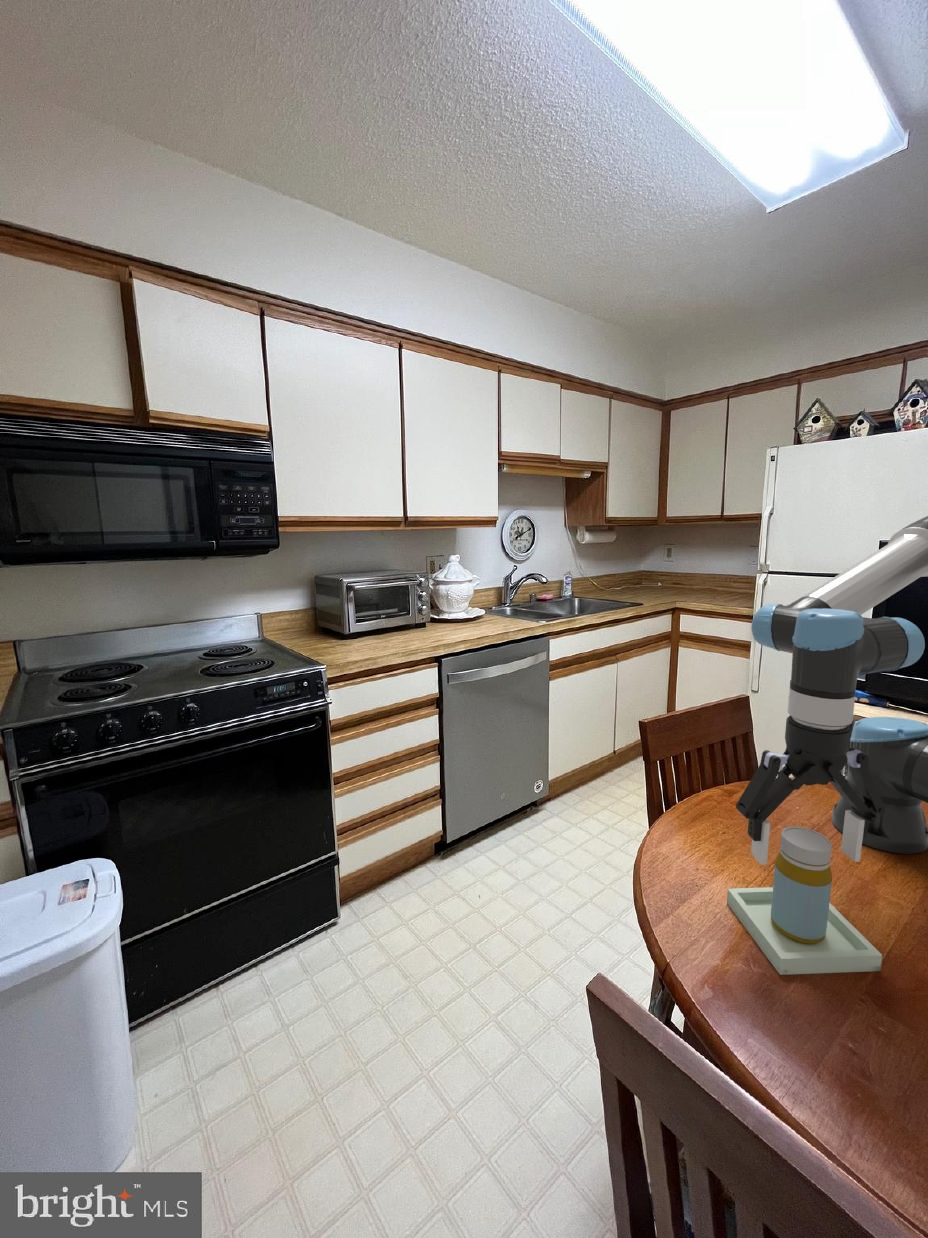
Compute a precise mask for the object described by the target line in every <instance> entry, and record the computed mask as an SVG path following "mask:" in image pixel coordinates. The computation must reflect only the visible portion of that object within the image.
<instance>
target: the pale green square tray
mask: <svg viewBox="0 0 928 1238" xmlns="http://www.w3.org/2000/svg"><path fill="white" fill-rule="evenodd" d="M772 893H773V886H771V887H769V886H768V887H767V886H766V887H741V888H740V887H739V888H727V894H726V904H727V905H728V906H729V908H730V909H731V910H732V911H733V913H734V914H735V916H736V917H737V919H738V920H739V921H740V922H741V924H742V925H743V927H744V928H745V929H746V931H747V932H748V933H749V934H750V936H751V937H752V939H753V940H754V941H755V943H756V944H757V946H758V947H759V948H760V950H761V951H762V952H763V954H764V955H765V957H766V958H767V959H768V961H769V962H770V963H771V965H772V966H773V968H774V969H775V970H776V971H777V972H778V974H779V975H780V976H781V975H782V976H784V975H787V976H789V975H809V974H810V975H812V974H834V973H837V974H838V973H862V972H863V973H865V972H880V971H881V968H882V962H883V961H882V960H883V954H882V953H881V952H880V951H879V950H878V949H877V948H876V947H875V946H874V945H872V943H871V942H870V941H869V940H868V939H867V938H866V937H865V936H864V935H863V934H862V933H860V931H859V930H857V928H855V926H854V925H853V924H851V922H850V921H849V920H848V919H847V918H845V916H843V915H842V914H841V913H840V912H839V910H837V909H836V908H835V906H833V904H832V903H829V912H828V921H827V930H826V936H825V938H824V940H823V941H821V942H819V943H816V944H802V943H799V942H795V941H793V940H791V939H789V938H787V937H786V936H784V935H783V934H782V933H780V932H779V930H778V929H777V928H776V927H775V926H774V924H773V923H772V921H771V905H772Z"/></svg>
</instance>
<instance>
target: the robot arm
mask: <svg viewBox="0 0 928 1238" xmlns="http://www.w3.org/2000/svg"><path fill="white" fill-rule="evenodd" d="M922 577H924V578H925V577H928V515H927V516H924V517H922V518H920V519H918V520H916V521H914V522H911V523H910V524H908V525H907V526H905V527H903V528H901V529H900V530H897V532H895V533H894V534H893V535H891V537H890V539H889V540H888V543H887V544H886V545H884V546H883V547H882V548H880V549H878V550H876V551H875V552H873V553H871V554H870V555H868V556H867V557H865V558H863V559H862V560H860V561H858V562H856V563H855V564H853V565H852V566H850V567H849V568H847V569H846V570H843V571H842V572H840V573H839V574H837V575H836V576H834V577H832V578H831V579H829V580H827V581H826V582H824V583H822V584H821V585H819V586H818V587H815V588H814V589H813V590H810V591H809V592H808V593H806V594H804V595H802V596H801V597H799V598H798V599H796V600H795V601H793V602H791V603H789V604H788V605H783V604H780V603H778V604H772V603H771V604H770V603H769V604H765V605H762V606H761V607H760V608H758V610H757V611H756V612H755V614H754V615H753V617H752V620H751V628H750V629H751V632H752V636H753V639H754V640H755V642H756V643H758V644H759V645H761V646H764V647H767V648H770V649H773V650H775V651H778V652H783V653H784V652H785V653H789V654H792V657H791V672H790V673H791V677H790V681H789V692H788V702H787V704H788V705H787V713H788V715H789V716H787V717H786V722H785V730H784V731H785V733H784V739H785V745H786V748H785V751H784V752H783V753H774V752H772V751H770V750H767V749H765V750H764V751H762V753H761V757H760V758H761V759H760V764H759V766H758V767H757V769H756V771H755V773H754V774H753V776H752V778H751V779H750V781H749V783H748V784H747V785H746V787H745V788H744V791H743V793H741V796H740V798H739V799H738V800H737V802H736V804H735V809H736V810H737V811H738V812H739V813H740V814H741V815H742V816H743V818H745V819H747V820H748V821H747V822H748V825H747V826H748V827H747V834H748V835H747V836H748V837H750V839H751V848H750V854H751V855H752V856H753V857H754V858H755V860H757V862H758V863H759V864H760V865H762V866H767V865H768V857H769V856H768V854H769V841H770V832H771V823H770V822H769V820H768V818H769V817H770V816H771V815H772V814H773V813H774V811H776V809H778V807H779V806H780V805H782V804H783V803H784V801H785V800H786V799H787V798H788V797H789V796H790V795H792V793H793V792H794V791H795V790H800V789H801V788H802V787H803V786H804V785H805V786H814V785H820V786H821V785H822V786H828V784H829V783H830V784H831V785H832V786H833V788H835V790H836V791H837V793H839V795H840V797H839V799H838V802H836V803H835V804H834V806H833V807H832V813H831V822H832V824H833V826H834V827H835V828H836V829H837V830H838V831H839V832H840V833H842V837H841V847H840V851H841V852H842V853H844V854H845V855H846V856H847V857H848V858H849V859H851V860H852V861H854V862H855V863H858V862H861V857H862V856H861V855H862V847H863V846H862V845H865V846H867V847H870V848H874V849H877V850H881V851H885V852H888V853H894V854H895V853H896V854H901V855H902V854H903V855H904V854H906V855H911V854H912V855H914V854H920V853H923V852H925V851H927V849H928V827H927V825H928V824H927V821H926V820H927V819H926V817H925V813H924V809H923V805H922V804H923V802H925V803H926V804H928V724H927V723H926V722H923V721H920V720H915V719H909V718H901V717H890V716H870V717H864V718H861V719H859V720H857V721H856V722H855V723H854V725H853V729H852V728H851V726H850V725H851V724H852V723H853V722H854V721H853V720H854V712H855V711H854V709H855V701H856V688H857V683H858V682H857V681H858V676H862V675H867V674H874V673H875V674H876V673H882V672H891V671H892V672H894V671H898V670H899V669H902V668H906V667H909V666H912V665H914V664H915V663H917V662H918V661H919V660H920V659H921V657H922V655H924V650H925V647H926V643H925V637H924V635H923V633H922V631H921V630H920V628H919V627H918V626H917V625H916V624H914V623H913V622H911V621H909V620H907V619H906V618H902V617H889V616H881V617H878V618H872V617H871V618H870V617H863V616H862V615H863V614H864V613H866V612H869V610H871V609H873V608H874V607H876V606H877V605H879V604H880V603H882V602H884V601H885V600H887V599H888V598H890V597H891V596H893V595H895V594H896V593H897V592H899V591H901V590H902V589H904V588H905V587H907V586H909V585H910V584H912V583H913V582H916V580H918V579H919V578H922ZM783 765H784V766H783ZM846 765H847V776H846V777H845V776H844V775H843V773H842V772H841V771H842V770H843V769H844V768H845V767H846ZM791 775H792V777H793V779H792V778H790V776H791ZM854 862H853V863H854Z"/></svg>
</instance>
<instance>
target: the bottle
mask: <svg viewBox="0 0 928 1238" xmlns="http://www.w3.org/2000/svg"><path fill="white" fill-rule="evenodd" d="M779 845H780V847H779V852H778V854H777V855H776V857H775V862H774V873H773V882H772V883H773V884H772V887H773V893H772V905H771V921H772V923H773V924H774V926H775V927H776V928H777V929H778V930H779V932H780V933H782V934H783V935H784V936H786V937H787V938H789V939H791V940H793V941H795V942H799V943H802V944H816V943H819V942H821V941H823V940H824V938H825V936H826V930H827V921H828V912H829V903H830V902H831V901H830V899H831V895H832V894H831V893H832V892H831V891H832V883H833V873H832V869H831V866H830V864H831V858H832V857H831V856H832V850H833V849H832V848H833V846H832V842H831V841H830V839H829V838H828V837H826V836H825V835H823V834H822V833H820V832H819V831H816V830H813V829H811V828H806V827H802V826H788V827H787V826H786V827H784V828H783V829H782V830H781V833H780V843H779ZM830 904H831V903H830Z"/></svg>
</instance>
